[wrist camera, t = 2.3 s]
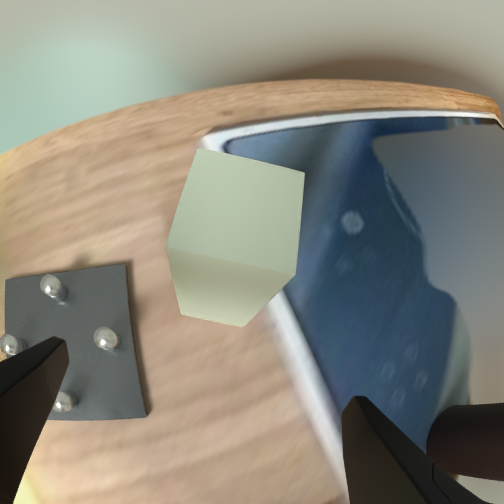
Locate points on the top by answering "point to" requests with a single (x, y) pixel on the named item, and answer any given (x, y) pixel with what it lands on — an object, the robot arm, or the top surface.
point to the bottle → (469, 441)
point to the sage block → (234, 236)
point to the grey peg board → (80, 338)
